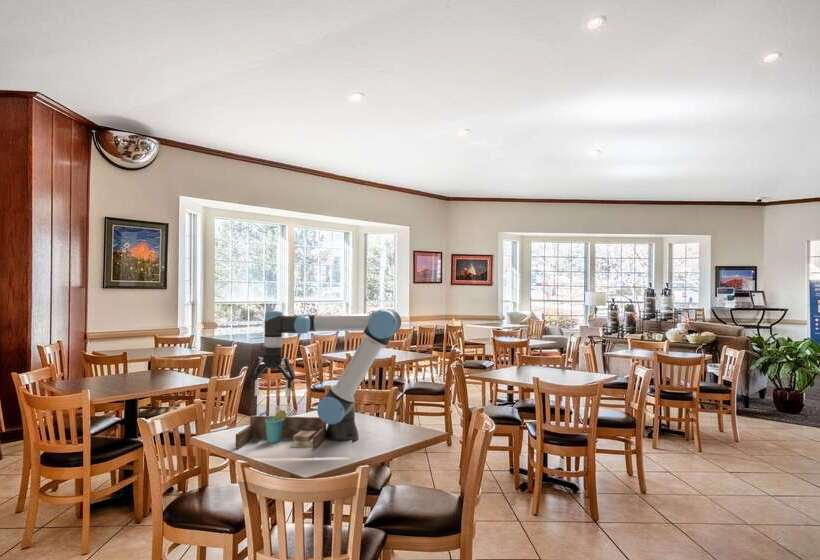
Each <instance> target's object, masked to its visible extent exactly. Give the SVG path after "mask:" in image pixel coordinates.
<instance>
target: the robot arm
mask: <svg viewBox="0 0 820 560" xmlns="http://www.w3.org/2000/svg"><path fill="white" fill-rule="evenodd" d="M401 326H402V318H401V316H400V314H399V313H398V312H397V311H395V310H394V309H390V308H385V309H384V308H383V309H381V308H380V309H378V310H375V311H374V310H373V311H371V312H370V313H342V314H341V313H339V314H338V313H337V314H303V315H283V311H281V310H266V311H265V313H264V331H263V332H264V333H263V334H264V336H263V338H264V339H263V346H264V348H263V357H261V356H258V357H256V359H255V364H254V365H253V368H252V369H251V371H250V374H249V375H248V379H250V380H252V388H254V396H255V397H256V396H259V390H260V389H259V388H260V387H259V386H260V379H258V378H259V377H260V376H261V375H262V374H263V373H264V371H266V369H271V368H272V369H277V370H278V371H280V373H281V374H282V375H283V377H284V378H285V379H286V381H285V393H284V394H285V397H289V396H290V389H291V388H292V381H294V380H295V379H297V377H296V374H295V372H294V370H293V368H292V366H291V364H290V358H289V357H285V358H283V357H282V356H283V355H282V353H283V351H282V349H283V348H282V345H283V344H282V343H283V334H299V335H301V334H308V333H309V332H346V331H347V332H355V331H356V332H360V331H363V339H362V340H361V342H360V344H359V345H358V347H357V349H356V351H355V352H354V354H353V355H352V357H351V359H350V361H349V363H348V364H347V366H346V367H345V368H344V371H343V372H342V373H341V375H340V376H339V377H340V378H339V379H338V381H337V382H336V384H334V385H333V384H332V385H331V386H330V387H329V389H328V391H327V392H326V394H325V395H324V397H323V398H322V399H321V400H320V401H319V403H318V405H317V409H316V411H317V415H318V416H317V417H319V418H320V419H321V420H322V421H323V422H324V423H326V436H325V440H328V441H333V442H334V441H335V442H345V441H351V442H355V441H357V440H359V432H358V431H359V430H358V428H357V425H356V418H355V417H356V416H355V415H356V406H355V405H356V404H355V403H356V391H357V390H358V388H359V387H360V385H361V383H362V381H363V380H364V378H365V376H366V375H367V373H368V371H369V369H370V368H371V366H372V365H373V363H374V361H375V360H376V358H377V356H378V355H379V353H380V352H381V349H382V348H384V347H387V346H388V345H389V343H390V341H391V340H392V338H393V336H395V334H396V333H398V331H400V329H401ZM261 363H264V364H263V365H262V367H261V368H260V369H259V366H260V364H261ZM282 363H283V364H285V365H284V366H285V367H286V369H285V368H284V366H283V365H282ZM258 369H259V370H258ZM257 370H258V371H257Z"/></svg>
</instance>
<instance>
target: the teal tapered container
mask: <svg viewBox="0 0 820 560" xmlns="http://www.w3.org/2000/svg"><path fill="white" fill-rule="evenodd" d="M264 415H265V416H267V419H266V420H265V423H266V434H267V437H266V443H268V444H278V443H280V442H281V438H282V437H281V428H282V422H283V421H284V420H285V418H286V417H287V413H286V411H285V410H282V409H280V410H278V411H277V412H276V414H275V417H273V418H269V416H270V414H269V412H268V411H266V410H265V411H264V412H263V411H262V412H261V413H259V416H264Z"/></svg>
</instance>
